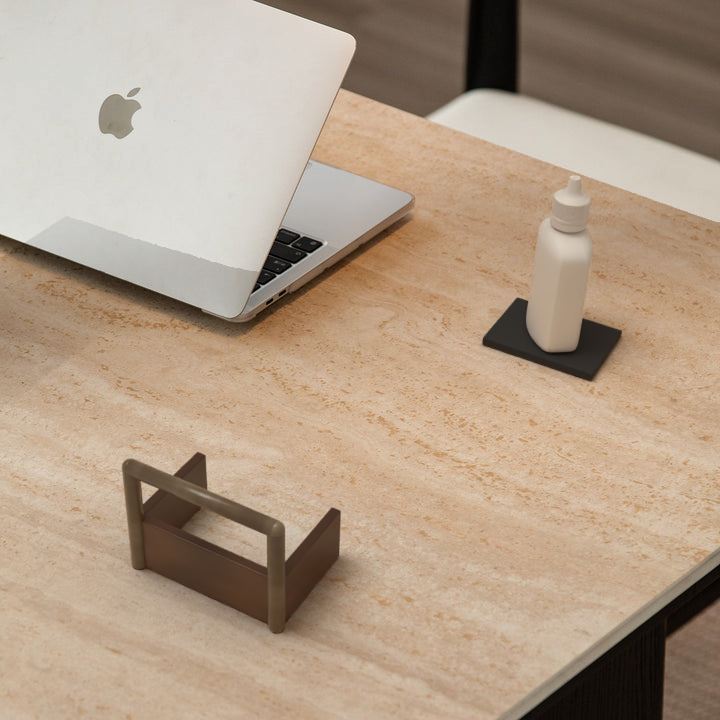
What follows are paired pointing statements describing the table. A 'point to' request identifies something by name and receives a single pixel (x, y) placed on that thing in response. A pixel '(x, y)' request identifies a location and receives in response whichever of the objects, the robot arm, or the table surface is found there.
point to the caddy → (213, 563)
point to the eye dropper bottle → (561, 271)
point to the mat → (580, 362)
